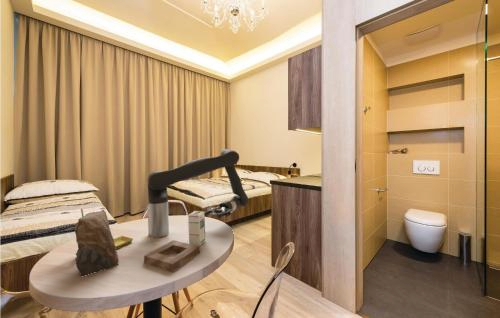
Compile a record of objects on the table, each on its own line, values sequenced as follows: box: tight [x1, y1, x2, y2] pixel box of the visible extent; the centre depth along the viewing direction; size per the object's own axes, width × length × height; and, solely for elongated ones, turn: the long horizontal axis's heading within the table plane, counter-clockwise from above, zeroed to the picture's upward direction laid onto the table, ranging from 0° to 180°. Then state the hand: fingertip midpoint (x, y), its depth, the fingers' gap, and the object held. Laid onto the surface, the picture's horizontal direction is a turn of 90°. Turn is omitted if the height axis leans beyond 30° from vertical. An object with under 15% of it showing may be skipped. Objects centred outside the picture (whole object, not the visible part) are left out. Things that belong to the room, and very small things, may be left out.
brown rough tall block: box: [74, 209, 119, 277], centre depth 78 cm, size 13×13×20 cm
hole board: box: [143, 239, 201, 273], centre depth 83 cm, size 15×15×3 cm
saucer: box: [113, 235, 134, 249], centre depth 96 cm, size 9×9×2 cm
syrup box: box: [187, 210, 206, 246], centre depth 97 cm, size 6×6×14 cm
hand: (211, 215), depth 107 cm, fingers open, 8 cm apart
